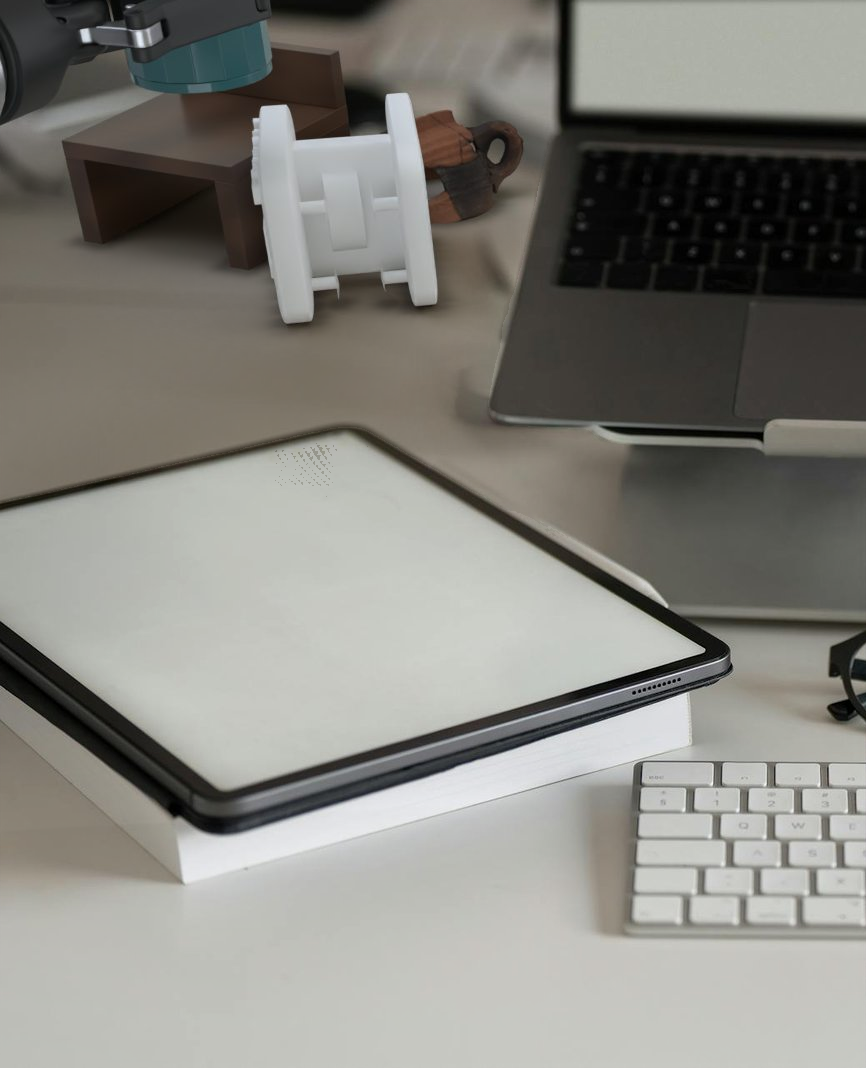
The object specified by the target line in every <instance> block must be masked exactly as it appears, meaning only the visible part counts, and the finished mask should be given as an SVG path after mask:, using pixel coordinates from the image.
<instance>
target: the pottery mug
mask: <svg viewBox="0 0 866 1068" xmlns="http://www.w3.org/2000/svg"><path fill="white" fill-rule="evenodd" d="M414 119H415V124H416V129H417V134H418V139H419V144H420V149H421V154H422V159H423V165H424V173H425V181H433V180H437V179H439V181H440V182H441V183H442V187H443V189H444V190H443V191H442V192H441V193H439V194H438V195H435V196H434V197H431V198H430V199H428V208H429V217H430V224H450V223H451V224H452V223H457V222H460V221H463V220H467V219H469V218H476V217H478V216H481V215H484V214H486V213H488V212H489V211H490V210H491V209H492V207H493V205H494V194H497V193H498V191H499V187H500V185H501V184H502V183H503V182H504V180H505V179H507V178H508V177H510V176H511V175H513V173H514V172H516V170H517V169H518V166H519V165H520V162H521V160H522V158H523V155H524V150H525V149H524V139H523V138H522V137H521V136H520V134H519V133H518V129H517V128H516V127H515V126H514V125H513V124H511V123H509V122H508V121H505V120H501V119H500V120H497V119H496V120H489V121H486V122H484V123H481V124H479V125H476V126H465V125H463V124H459V123H457V121H456V119H455V116H454V114H453V110H451V109H443V110H437V111H436V110H435V111H433V112H429V113H426V114H425V115H421V116H418V117H416V118H415V117H414ZM379 134H388V130H387V129H385V130H384V131H382V132H380V133H378V134H377V135H379ZM497 139H498V140H500V141H502V142H503V143H504V148H503V149H504V150H503V153H502V156H501V158H500V160H499V162H496V163H494V162H492V160H491V159H490V158H489V156H488V153H489V151H490V148H491V145H492V143H493V142H494V141H495V140H497ZM472 144H473V145H472Z"/></svg>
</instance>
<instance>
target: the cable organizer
mask: <svg viewBox="0 0 866 1068" xmlns="http://www.w3.org/2000/svg"><path fill="white" fill-rule="evenodd" d="M384 100H385V103H384V104H385V105H384V106H385V107H384V108H385V109H384V110H385V121H386V130H388V134H380V133H378V134H379V135H378V134H366V135H353V136H351V135H350V136H351V137H338V138H324V139H311V140H297V141H296V137H295V130H294V125H293V120H292V116H291V113H290V110H289V108H288V106H287V105H273V106H262V107H261V109H260V115H259V118H253V124H254V131H252V134H253V137H252V142H253V150H252V153H253V160H252V166H253V167H252V170H251V177H252V192H253V198H254V204H255V205H258V204H262V210H263V231H264V236H265V242H266V248H267V254H268V259H267V260H268V265H269V266H268V267H269V271H270V277H271V279H273V280H274V281H273V282H274V285H275V286H274V287H275V291H276V299H277V303H278V307H279V312H280V315H281V318H282V320H283V322H284V323H285V324H286V325H287V324H296V323H297V324H299V323H309V322H312V321H313V318H314V312H315V300H314V299H315V298H314V292H317V291H327V290H336V292H337V298H338V300H340V282H339V278H338V276H347V275H357V274H367V273H368V274H369V273H380V280H381V283H382V286H383V289H384V290H386V286H385V285H392V284H402V283H403V284H404V283H407V284H408V289H409V294H410V297H411V301H412V303H413V305H414V306H415V307H422V306H431V305H436V304H437V302H438V279H437V272H436V271H437V270H436V262H435V261H436V260H435V253H434V245H433V235H432V227H431V222H430V217H429V208H428V200H429V199H428V191H427V183H426V181H427V180H426V181H425V173H424V165H423V159H422V154H421V149H420V144H419V139H418V134H417V129H416V124H415V115H414V109H413V105H412V101H411V98H410V96H409V93H408V92H399V93H387V94H386V96H385V99H384ZM384 292H385V293H386V294H387V291H384Z"/></svg>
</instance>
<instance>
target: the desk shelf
mask: <svg viewBox="0 0 866 1068" xmlns="http://www.w3.org/2000/svg"><path fill="white" fill-rule="evenodd" d="M270 46H271V52H272V65H273V67H272V71H271V72H270V73H269V74H268V75H267V76H266V77H265V78H263V79H261V80H259V81H257V82H254V83H252V84H249V85H246V86H242V87H239V88H234V89H230V90H224V91H217V92H209V93H196V94H174V93H163V92H162V93H161V94H159V95H157V96H155V97H153V98H151V99H148V100H146V101H144V102H141V103H139V104H137V105H135V106H133V107H131V108H129V109H126V110H124V111H122V112H119V113H118V114H116V115H113V116H111V117H108V118H107V119H105V120H103V121H100V122H98V123H96V124H93V125H92V126H90V127H87V128H85V129H83V130H81V131H79V132H77V133H74V134H71V135H70V136H67V137H65V138H63V139H62V140H61V146H62V149H63V153H64V158H65V161H66V162H65V163H66V167H67V171H68V176H69V180H70V184H71V189H72V194H73V197H74V201H75V206H76V210H77V215H78V218H79V223H80V228H81V232H82V235H83V237H82V238H83V240H84V242H88V243H94V244H100V245H104V244H106V243H107V242H109V241H111V240H113V239H115V238H117V237H118V236H120V235H122V234H124V233H125V232H127V231H129V230H131V229H133V228H135V227H137V226H139V225H140V224H142V223H144V222H146V221H147V220H150V219H152V218H153V217H155V216H156V215H159V214H161V213H163V212H164V211H167V210H169V209H170V208H171V207H174V206H175V205H177V204H179V203H181V202H182V201H185V200H186V199H188V198H190V197H192V196H194V195H195V194H197V193H199V192H201V191H203V190H205V189H206V188H208V187H210V186H212V185H213V184H214V187H215V191H216V197H217V203H218V209H219V214H220V220H221V225H222V226H221V227H222V232H223V236H224V237H223V238H224V241H225V242H224V243H225V248H226V253H227V259H228V264H229V267H230V268H234V269H240V270H246V271H250V270H252V269H253V268H255V267H257V266H258V265H260V264H261V263H262V262H264V261H266V260H268V254H267V248H266V242H265V236H264V231H263V210H262V204H258V205H255V204H254V198H253V192H252V177H251V170H252V167H253V166H252V160H253V153H252V150H253V142H252V137H253V134H252V131H254V124H253V118H259V115H260V109H261V107H262V106H273V105H287V106H288V108H289V110H290V113H291V116H292V120H293V125H294V130H295V137H296V141H297V140H311V139H324V138H338V137H351V130H350V129H351V128H350V122H349V113H348V106H347V100H346V91H345V85H344V77H343V71H342V64H341V63H342V62H341V56H340V54H341V53H340V50H336V49H330V48H322V47H316V46H307V45H299V44H292V43H284V42H277V41H270Z"/></svg>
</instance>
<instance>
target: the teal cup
mask: <svg viewBox="0 0 866 1068" xmlns="http://www.w3.org/2000/svg"><path fill="white" fill-rule="evenodd" d="M267 21H268V19H266V20H264V21H260V22H257V23H254V24H253V25H251V26H245V27H241V28H238V29H235V30H232V31H229V32H226V33H223V34H220V35H217V36H214V37H211V38H208V39H205V40H202V41H199V42H196V43H193V44H190V45H187V46H184V47H180V48H177V49H174V50H171V51H170V52H168V53H167V54H165V55H163V56H162V57H160V58H158V59H157V60H155V61H152V62H150V63H144V64H143V63H137V62H134V61H133V60H132V55H131V50H130V48H127V49H123V50H124V54H125V58H126V65H127V67H128V71H129V75H130V80H131V81H132V83H133V84H134V85H135V86H137V87H139V88H141V89H144V90H146V91H147V90H148V91H152V92H155V93H156V92H157V93H162V94H163V93H174V94H196V93H209V92H217V91H224V90H230V89H234V88H239V87H242V86H246V85H249V84H252V83H254V82H257V81H259V80H261V79H263V78H265V77H266V76H267V75H268V74H269V73H270V72H271V71H272V67H273V65H272V52H271V46H270V42H271V41H270V34H269V28H268V22H267Z"/></svg>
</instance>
